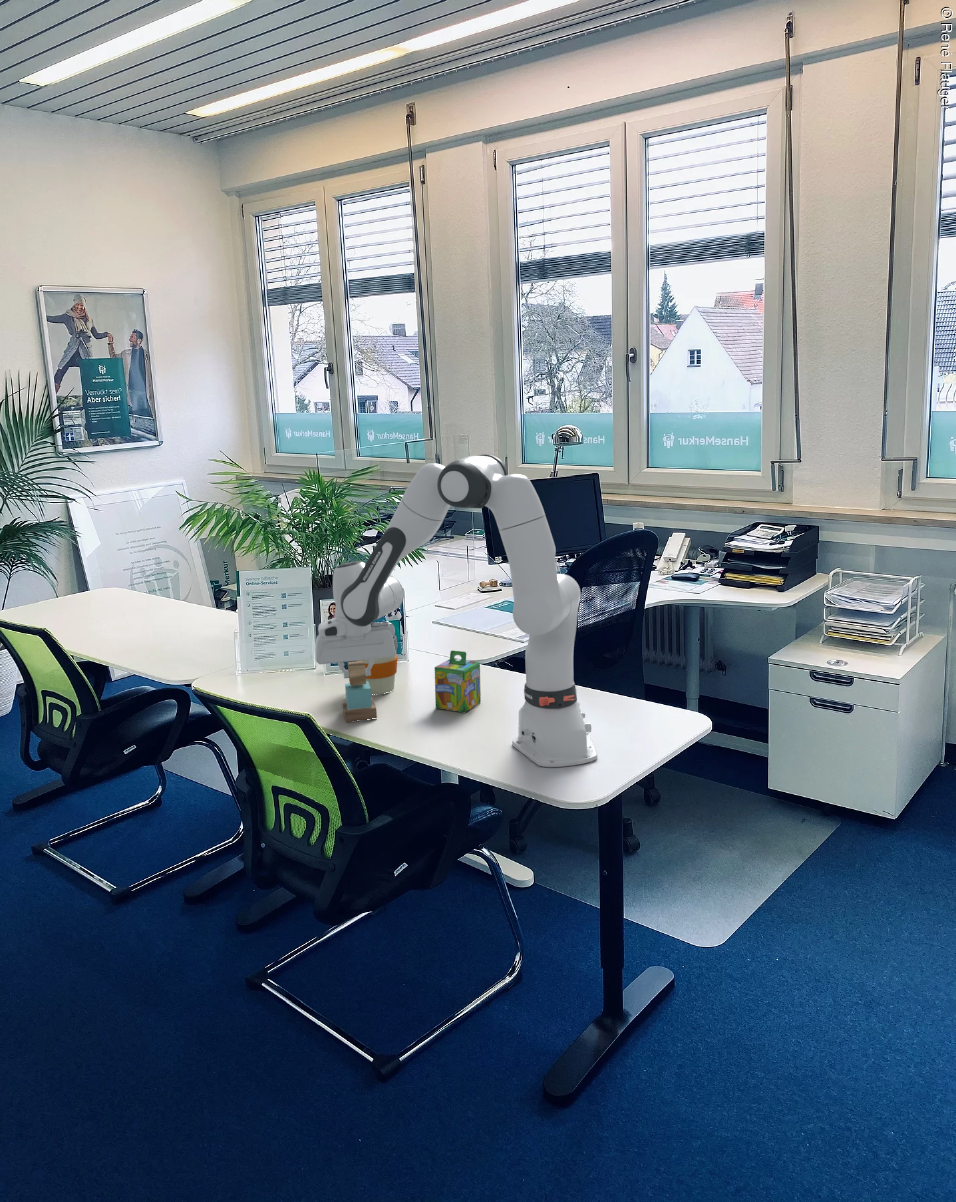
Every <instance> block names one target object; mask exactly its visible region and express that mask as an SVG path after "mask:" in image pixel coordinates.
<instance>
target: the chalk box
mask: <svg viewBox="0 0 956 1202" xmlns="http://www.w3.org/2000/svg"><path fill="white" fill-rule="evenodd" d="M456 656H459V657H461V658H456ZM434 686H435V687H434V692H435V693H434V695H435V698H434V699H435V709H436V708H442V709H441V710H444V709H448V710H447V711H450V710H455V711H460V712H459V713H461V712H466V711H467V712H469V711H470V710H471V708H472V709H473V708H474V706H475V705H476V706H477V704H478V705H480V702H481V701H482V698H481V695H482V694H481V693H482V692H481V691H482V690H481V663H480V662H479V661H475V660H469V659H467V652H466V651H461V650H451V651H450V655H449V659H447V660H446V661H443V662H442V663H440V664H438V665H436V666H434ZM476 706H475V707H476ZM468 710H469V711H468ZM455 711H454V712H455ZM467 712H466V713H467Z"/></svg>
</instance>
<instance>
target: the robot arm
mask: <svg viewBox="0 0 956 1202" xmlns="http://www.w3.org/2000/svg"><path fill="white" fill-rule="evenodd" d="M508 471H509V470H508V468H507V466H506V465H505V463H504V461H503V460H501V459H500V458H498V457H497V456H494V455H491V454H478V455H469V456H465V457H463V458H460V459H458V460H454V461H452V462H450V463H449V464H447V465H446V466H445V465H443V464H441V463H436V462H435V463H434V462H429V463H426V464H423V465H422V466H421V467H420V468H419V470H418V471H417V472H416V473H415V475H414V477H413V478H412V479H411V481H410V482H409V484H408V486H407V487H406V489H405V491H404V493H403V496H402V497H401V499H400V501H399V504H398V505H397V508H396V509H395V512H394V514H393V515H392V517H391V520H390V521H389V523H388V525H387V526H386V527H385V530H384V532H383V534H382V536H381V537H380V538H379V540H378V542H377V543H376V545H375V546H374V549H373V551H372V552H371V554H370V555H369V558H368V559H367V561H366V563H365V562H364V561H362V560H354V561H348V562H345V563H341V564H339V565H337V566H336V567H334V569H333V574H332V593H333V601H334V603H335V610H334V616H335V617H333V618H330V619H328V620H326V621H322V622H320V623H319V624H318V626H317V627H318V629H317V630H318V635H317V636H316V639H315V647H314V651H315V654H314V655H315V661H316V664H318V665H327V664H338V667H339V669H340V670H341V671H342V673H343V679H349V678H350V675H349V670H348V669H346V668H345V663H346V662H347V663H348V662H354V661H359V660H368V662H369V665H368V667H367V668H365V673H366V676H371V671H370V669H371V668H372V666H373V664H374V659H378V658H388V657H393V656H394V654H395V646H394V641H393V637H394V635H395V633H396V632H395V630H396V629H395V625H394V624H393V623H391V622H389V621H381V622H379V621H377V622H376V620H379V619H381V618H383V617H384V616H387V615H389V614H390V613H392V612H393V613H394V611H396V610H397V609H399V608H400V607H401V606H402V604H403V601H404V588H403V586H402V585H401V583H400V581H399V580H398V579H397V578H396V577H394V576H393V575H392V573H393V571H394V569H395V568H396V566H397V565H398V564H399V563H400V562H401V561H402V559H404V558H406V556H408V555H409V554H410V553H412V552H413V551H415V550H417V549H418V548H420V547H422V546H424V545H425V544H427V543H428V542H429V541H431V539H432V538H433V537H434V536H435V534H436V533H437V532H438V530H439V529H440V527H441V526H442V524H443V522H444V519H445V518H446V516H447V513H448V512H449V509H450V508H451V507H453V508H458V509H483V508H484V507H486V508H488V509H489V510H490V511H491V512H492V514H493V516H494V519H495V522H496V525H497V528H498V532H499V534H500V538H501V541H502V545H503V547H504V551H505V553H506V557H507V561H508V564H509V570H510V578H511V587H512V594H513V595H512V596H513V608H512V618H513V621H514V623H515V625H516V627H517V629H519V630H520V631H521V632H523V633H524V634H527V635H529V637H528V642H527V645H526V648H525V655H524V656H525V659H524V660H525V683H524V689H523V693H524V694H523V695H524V700H525V701H524V703H523V705H522V706H521V708H520V709H519V710H518V727H517V728H518V732H517V733H518V735H517V737H516V738H514V739H512V742H511V744H512V747H513V748H515V749H517V750H518V751H519V752H520V753H521V754H523V755H524V756H525V757H527V758H528V759H529V760H531V761H532V762H533V763H535V764H536V765H537V766H539V767H544V768H545V767H546V768H553V767H554V768H556V767H557V768H558V767H560V768H562V767H569V766H570V767H571V766H577V765H583V764H586V763H590V762H593V761H595V760H597V759H598V753H597V751H596V749H595V748H596V747H595V745H594V742H593V740H592V737H591V735H590V734H591V732H592V724H591V722H585V721H584V719H585V718H586V713H585V712H584V711H583V712H582V711H581V707H580V703H579V702H578V697H577V695H578V694H577V693H578V692H577V688H576V683H575V681H574V649H575V648H574V647H575V641H576V633H577V626H578V625H577V624H578V623H577V622H578V615H579V614H578V613H579V605H580V602H581V595H582V594H581V588H580V585H579V584H578V582H577V580H575V578H573V577H572V576H570V575H569V574H564V573H558V571H557V565H556V563H557V562H556V553H557V552H556V551H557V550H556V545H555V541H554V537H553V535H552V532H551V528H550V525H549V522H548V519H547V517H546V513H545V510H544V507H543V505H542V502H541V500H540V497H539V495H538V493H537V491H536V489H535V487H534V484H532V482H531V480H530V479H529V478H528V477H527V476H526V475H523V474H520V473H511V474H509V472H508ZM395 636H396V635H395Z"/></svg>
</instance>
